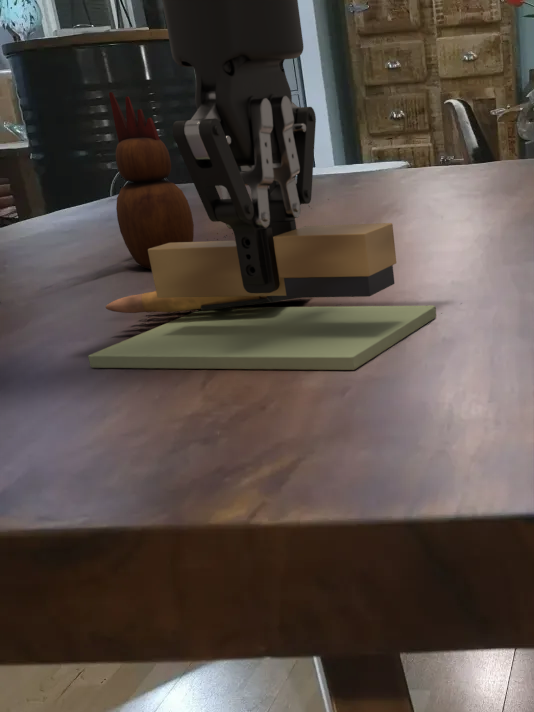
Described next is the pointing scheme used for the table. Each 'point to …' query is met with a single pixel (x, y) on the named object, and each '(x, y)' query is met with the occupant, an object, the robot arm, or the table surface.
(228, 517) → the table surface
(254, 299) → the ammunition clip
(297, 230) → the brush
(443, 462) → the table surface
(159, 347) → the felt mat
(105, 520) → the table surface
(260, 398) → the table surface
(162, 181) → the wooden figurine
